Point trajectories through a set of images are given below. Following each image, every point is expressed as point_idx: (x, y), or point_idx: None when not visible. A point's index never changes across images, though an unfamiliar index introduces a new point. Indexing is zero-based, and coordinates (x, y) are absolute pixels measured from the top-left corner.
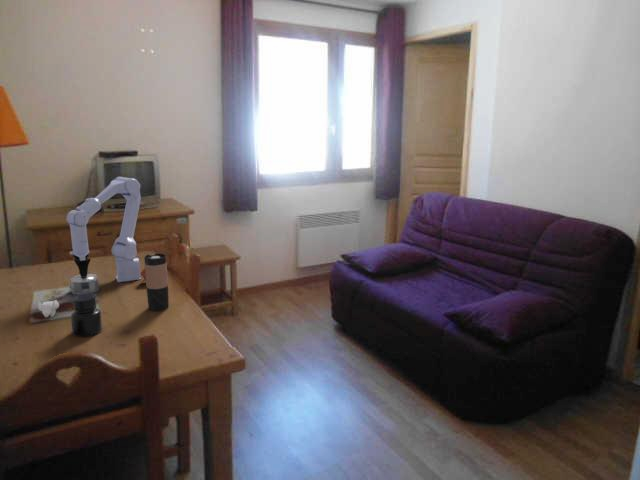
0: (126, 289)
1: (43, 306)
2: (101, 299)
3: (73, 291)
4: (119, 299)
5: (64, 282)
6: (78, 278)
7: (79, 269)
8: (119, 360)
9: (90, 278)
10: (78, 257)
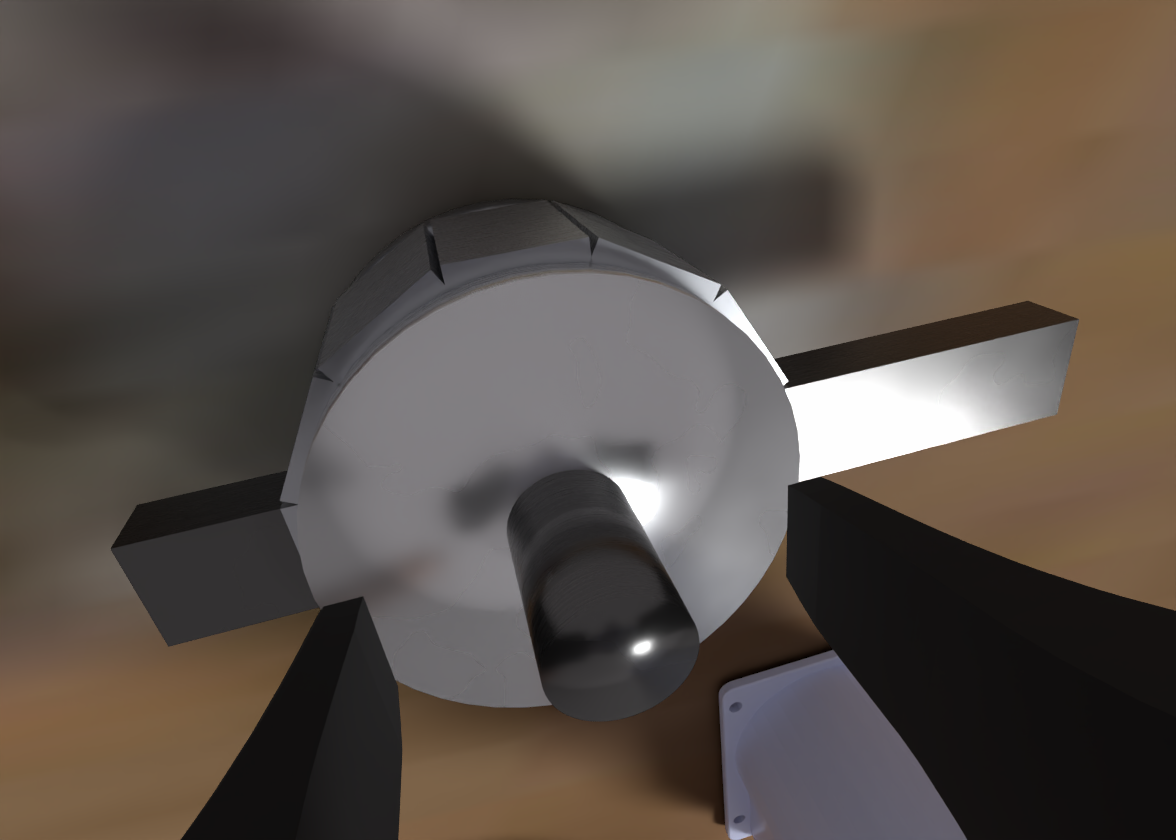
0: (456, 798)
1: None
2: (93, 658)
3: (378, 267)
4: (82, 827)
5: (1078, 9)
6: (537, 435)
7: (214, 798)
8: None
9: (471, 640)
10: (1112, 794)
